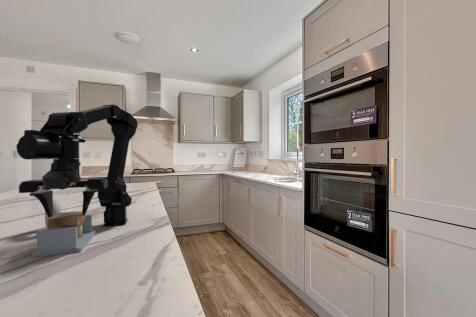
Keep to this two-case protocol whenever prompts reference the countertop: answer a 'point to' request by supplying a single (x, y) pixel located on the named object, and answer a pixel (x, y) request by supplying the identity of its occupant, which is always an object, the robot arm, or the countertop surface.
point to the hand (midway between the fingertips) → (67, 216)
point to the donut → (55, 210)
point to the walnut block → (66, 220)
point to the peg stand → (64, 239)
